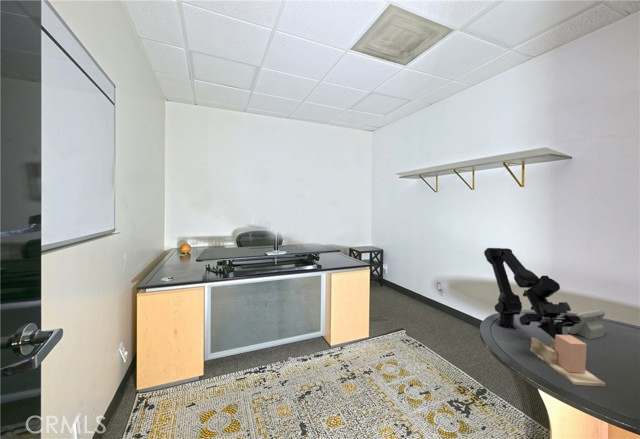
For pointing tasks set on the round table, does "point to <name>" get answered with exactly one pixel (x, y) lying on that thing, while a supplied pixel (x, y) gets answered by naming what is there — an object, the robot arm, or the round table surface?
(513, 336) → the round table surface
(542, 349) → the chute
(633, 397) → the round table surface
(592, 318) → the digital clock
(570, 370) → the block
